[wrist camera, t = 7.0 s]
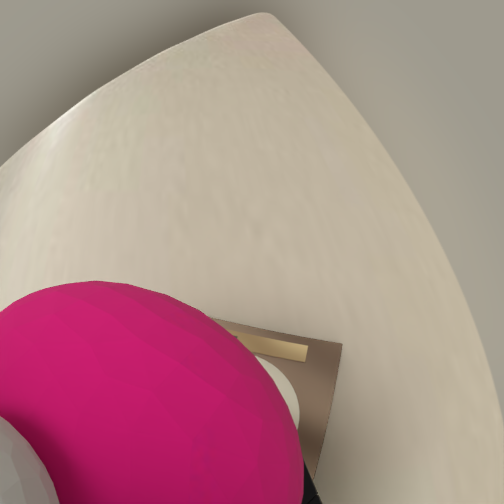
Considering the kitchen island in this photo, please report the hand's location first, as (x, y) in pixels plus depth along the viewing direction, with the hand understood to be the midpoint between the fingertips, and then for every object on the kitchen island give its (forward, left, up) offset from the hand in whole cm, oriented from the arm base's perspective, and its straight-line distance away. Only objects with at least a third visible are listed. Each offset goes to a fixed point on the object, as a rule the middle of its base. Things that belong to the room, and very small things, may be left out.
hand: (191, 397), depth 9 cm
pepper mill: (-1, +1, -11) cm, 11 cm away
